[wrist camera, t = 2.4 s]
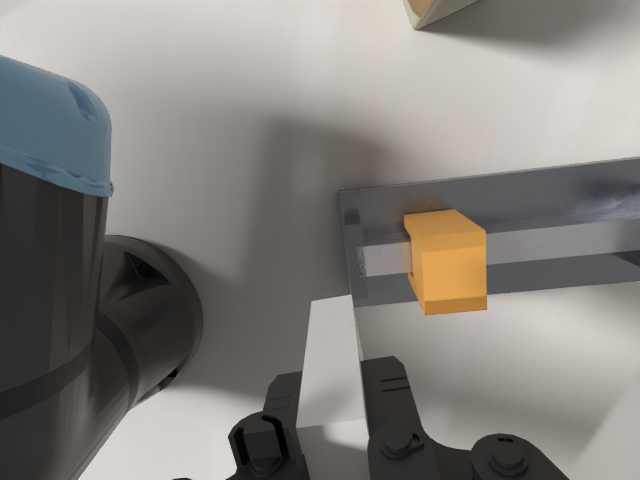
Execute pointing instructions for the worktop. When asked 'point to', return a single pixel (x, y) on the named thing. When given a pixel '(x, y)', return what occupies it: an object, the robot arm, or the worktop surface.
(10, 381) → the robot arm
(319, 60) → the worktop surface
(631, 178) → the rail
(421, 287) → the orange slider block
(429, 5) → the skincare box
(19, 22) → the worktop surface
